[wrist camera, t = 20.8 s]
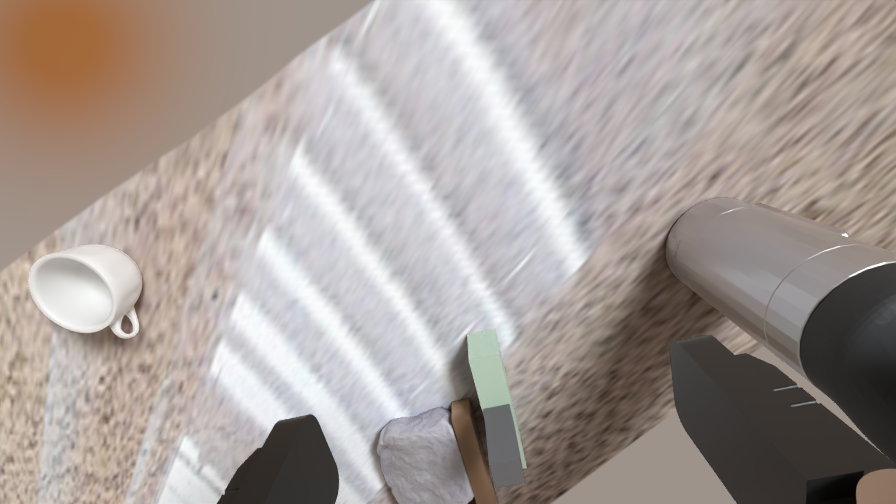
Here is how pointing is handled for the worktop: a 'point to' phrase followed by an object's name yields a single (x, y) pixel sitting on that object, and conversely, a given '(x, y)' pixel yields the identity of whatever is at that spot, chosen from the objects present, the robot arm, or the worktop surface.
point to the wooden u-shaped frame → (473, 453)
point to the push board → (490, 374)
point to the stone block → (424, 460)
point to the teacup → (87, 288)
